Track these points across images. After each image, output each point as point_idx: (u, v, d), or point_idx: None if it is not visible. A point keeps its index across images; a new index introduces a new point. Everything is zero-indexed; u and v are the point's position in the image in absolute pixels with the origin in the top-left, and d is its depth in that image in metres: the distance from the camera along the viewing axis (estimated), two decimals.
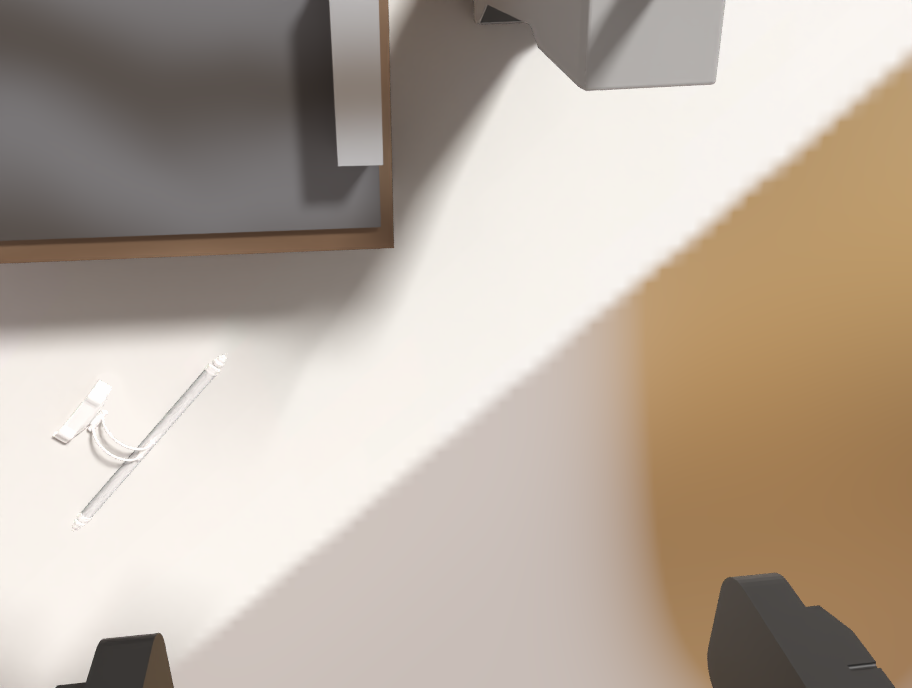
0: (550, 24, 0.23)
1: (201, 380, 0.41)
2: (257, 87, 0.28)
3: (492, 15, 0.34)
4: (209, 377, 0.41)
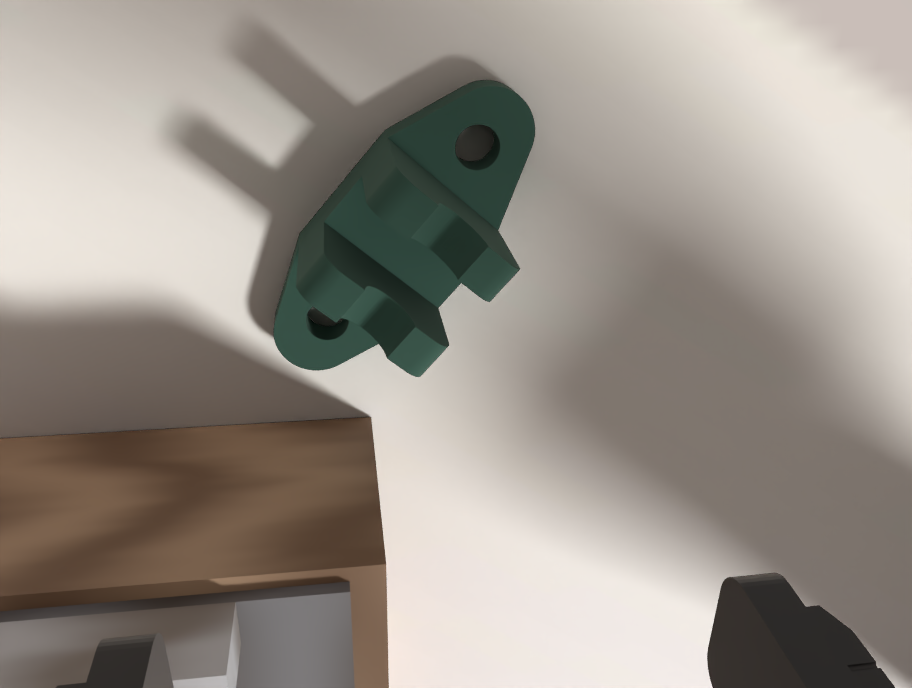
0: None
1: None
2: None
3: None
4: None
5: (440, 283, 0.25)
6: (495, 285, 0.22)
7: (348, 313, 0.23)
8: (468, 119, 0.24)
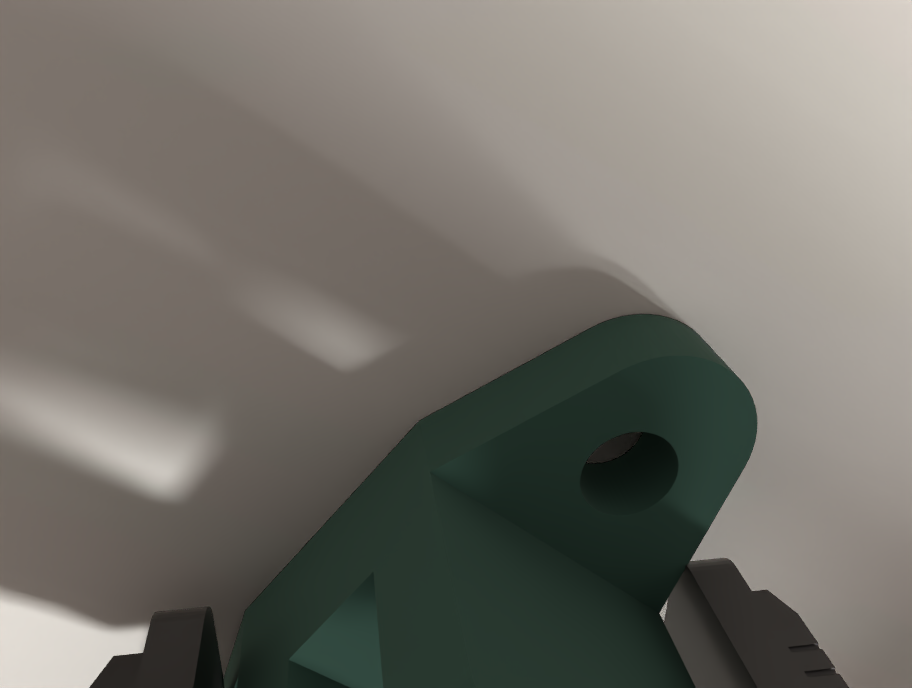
0: None
1: None
2: None
3: None
4: None
5: None
6: None
7: None
8: (613, 424, 0.10)
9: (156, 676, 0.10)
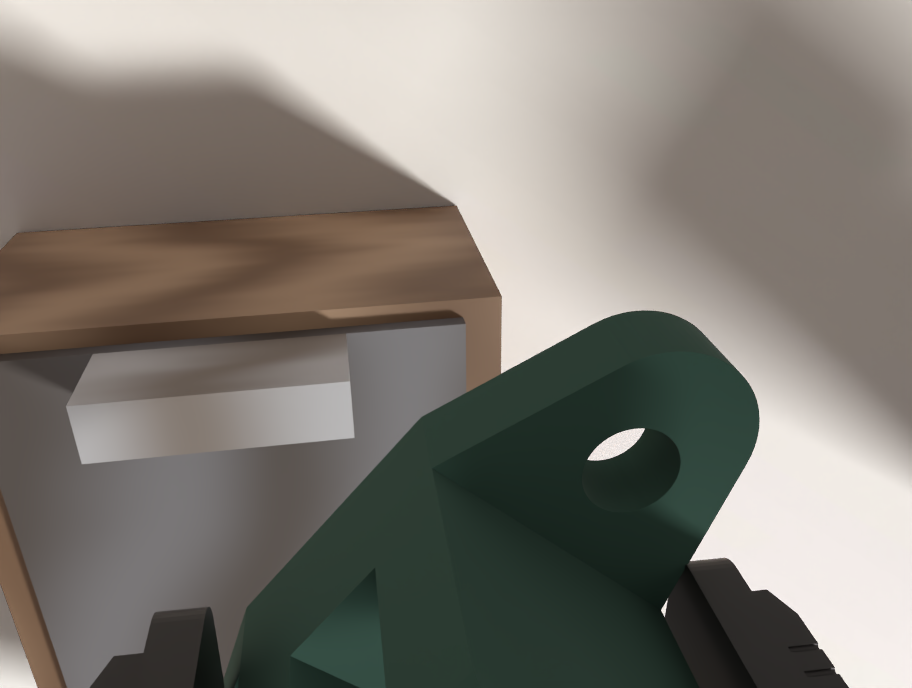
0: None
1: None
2: None
3: None
4: None
5: None
6: None
7: None
8: (615, 420, 0.10)
9: (156, 676, 0.10)
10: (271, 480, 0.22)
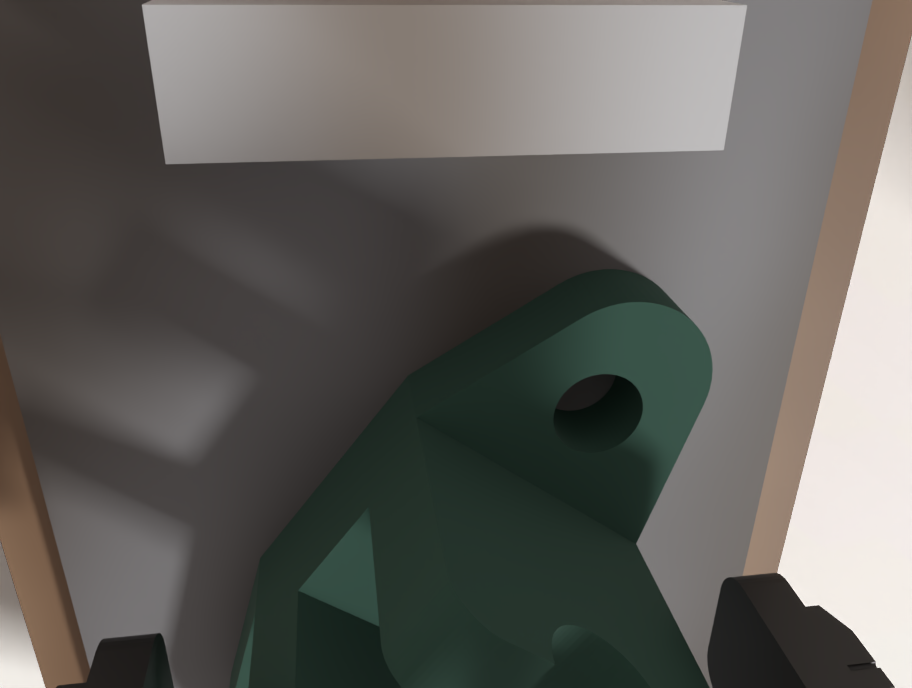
0: None
1: None
2: None
3: None
4: None
5: None
6: None
7: None
8: (579, 367, 0.12)
9: None
10: (477, 295, 0.12)
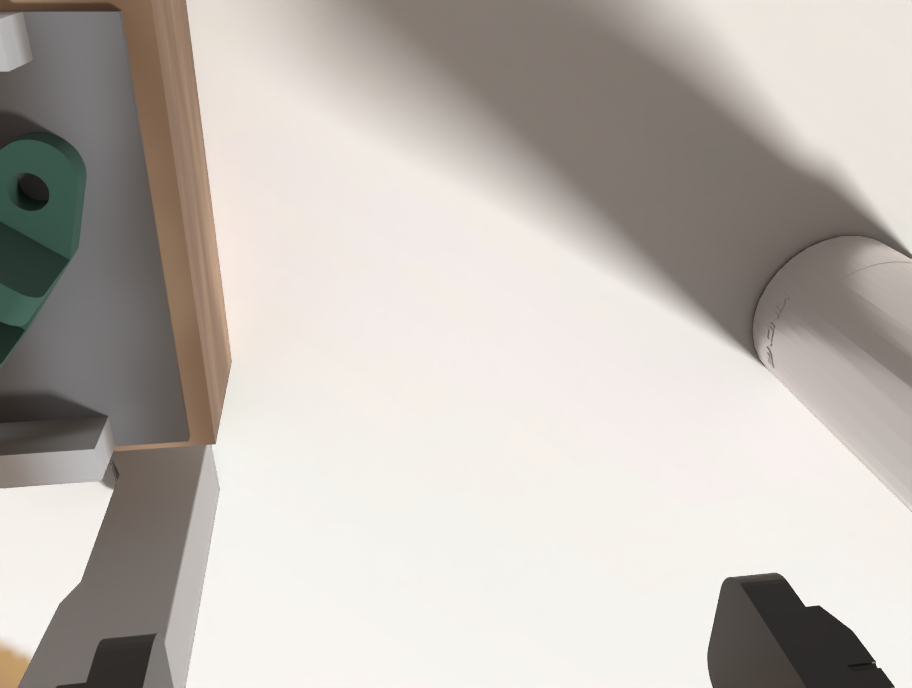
0: (71, 627, 0.32)
1: None
2: None
3: (115, 467, 0.42)
4: None
5: None
6: (15, 312, 0.26)
7: None
8: (11, 169, 0.28)
9: None
10: None
